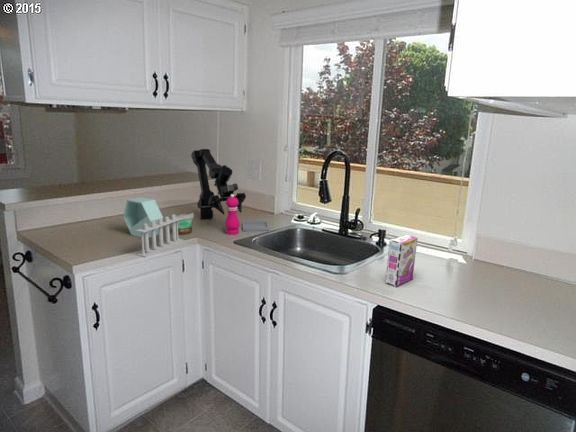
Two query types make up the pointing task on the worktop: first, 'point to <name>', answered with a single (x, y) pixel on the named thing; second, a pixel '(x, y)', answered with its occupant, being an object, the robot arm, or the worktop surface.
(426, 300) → the worktop surface
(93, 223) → the worktop surface
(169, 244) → the test tube rack
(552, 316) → the worktop surface
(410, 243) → the candy bar box
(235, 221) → the pink bowling pin
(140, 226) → the planter
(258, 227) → the slate tray
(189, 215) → the food container
